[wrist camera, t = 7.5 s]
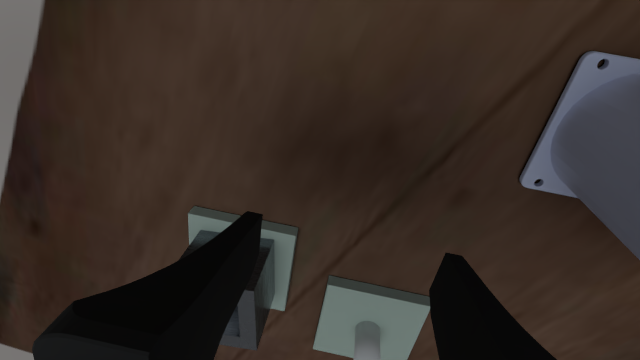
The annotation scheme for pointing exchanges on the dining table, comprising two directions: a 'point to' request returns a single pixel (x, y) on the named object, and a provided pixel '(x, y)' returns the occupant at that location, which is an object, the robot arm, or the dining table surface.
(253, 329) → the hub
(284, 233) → the square peg base
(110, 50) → the dining table surface
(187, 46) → the dining table surface
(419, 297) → the square peg board
